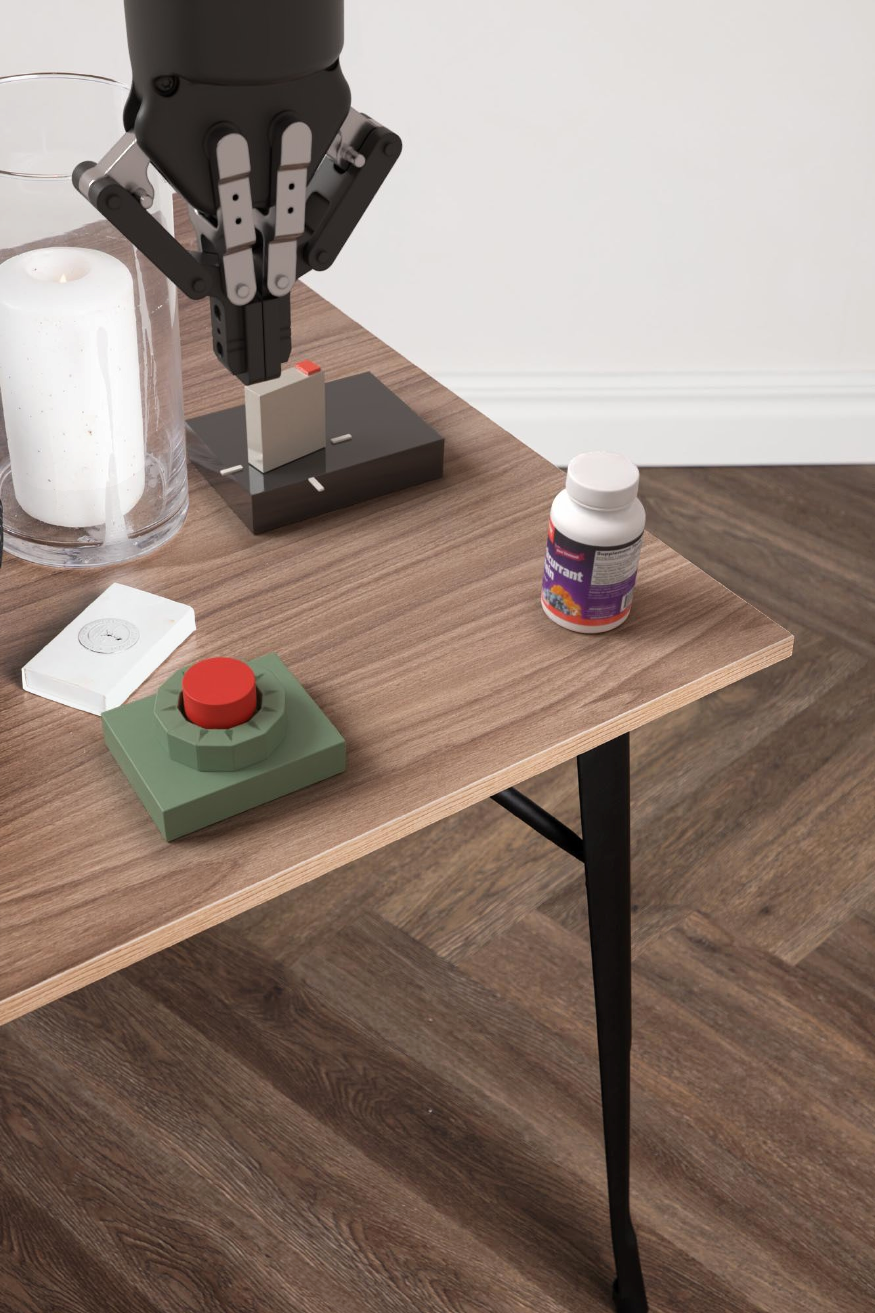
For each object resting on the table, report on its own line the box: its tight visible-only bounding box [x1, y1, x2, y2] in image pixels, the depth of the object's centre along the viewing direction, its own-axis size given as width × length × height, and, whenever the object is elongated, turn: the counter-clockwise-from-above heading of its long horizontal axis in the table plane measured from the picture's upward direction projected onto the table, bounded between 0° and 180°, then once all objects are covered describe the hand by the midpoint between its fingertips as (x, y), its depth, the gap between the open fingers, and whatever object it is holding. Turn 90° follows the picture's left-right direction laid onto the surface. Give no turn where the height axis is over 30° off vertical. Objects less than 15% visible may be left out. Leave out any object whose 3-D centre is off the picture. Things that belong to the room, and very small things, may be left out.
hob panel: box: [184, 370, 446, 536], centre depth 93 cm, size 15×12×3 cm
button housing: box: [100, 651, 347, 843], centre depth 72 cm, size 10×8×4 cm
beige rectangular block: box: [243, 359, 326, 473], centre depth 88 cm, size 5×2×6 cm, turn 132°
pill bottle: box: [540, 450, 647, 634], centre depth 81 cm, size 5×5×10 cm
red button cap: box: [182, 656, 257, 729], centre depth 71 cm, size 4×4×2 cm
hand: (253, 373), depth 58 cm, fingers closed
